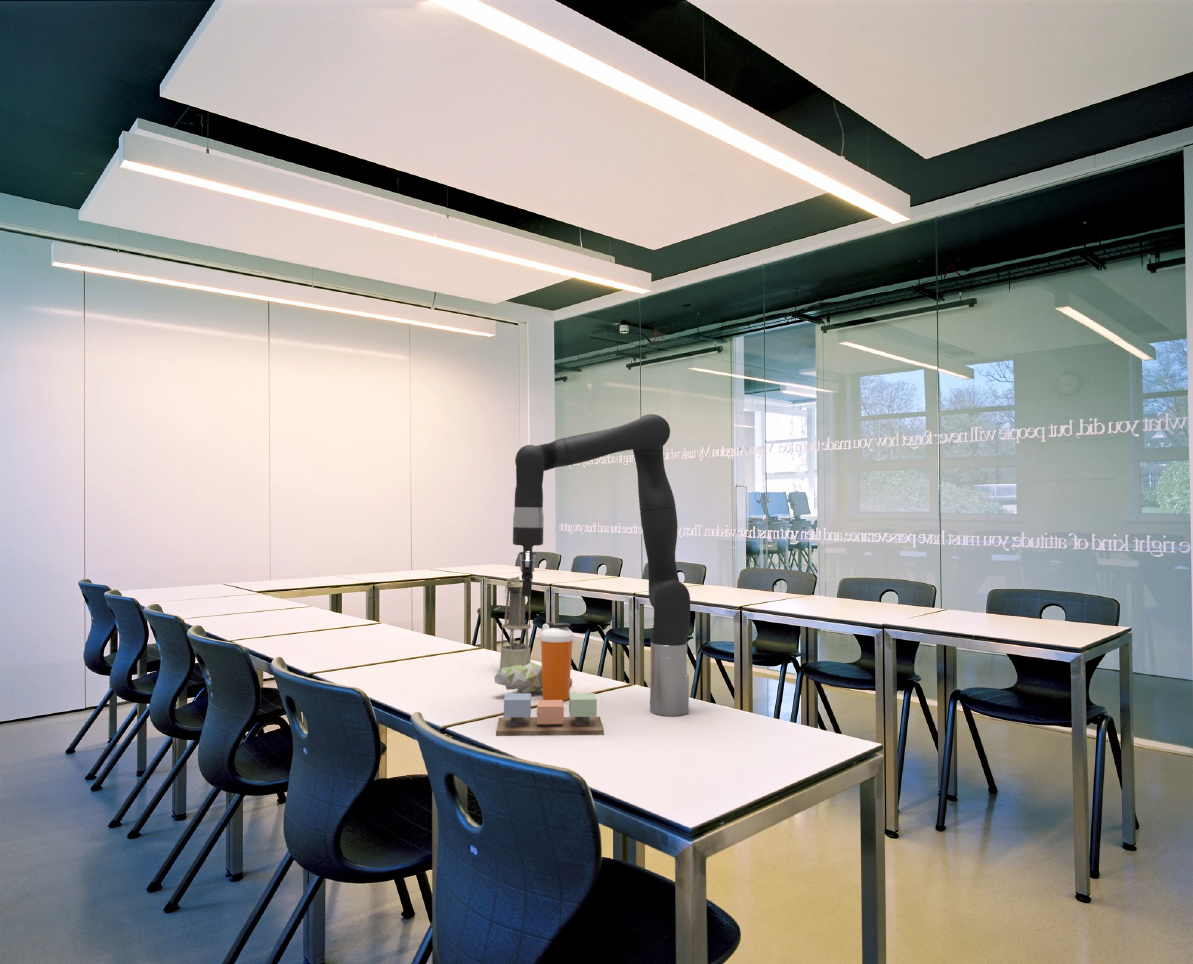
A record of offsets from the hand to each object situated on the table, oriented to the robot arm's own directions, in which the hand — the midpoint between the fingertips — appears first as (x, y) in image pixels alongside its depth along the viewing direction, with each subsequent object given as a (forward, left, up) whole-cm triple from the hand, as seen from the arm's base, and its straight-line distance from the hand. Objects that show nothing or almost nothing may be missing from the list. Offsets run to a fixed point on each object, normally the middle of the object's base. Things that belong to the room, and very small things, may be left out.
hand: (526, 596), depth 181 cm
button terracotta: (-6, +11, -27) cm, 30 cm away
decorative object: (-2, -23, -29) cm, 37 cm away
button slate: (+1, +11, -26) cm, 28 cm away
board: (-6, +11, -29) cm, 32 cm away
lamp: (+5, -47, -29) cm, 56 cm away
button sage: (-14, +11, -26) cm, 31 cm away
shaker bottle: (-8, -16, -29) cm, 34 cm away
